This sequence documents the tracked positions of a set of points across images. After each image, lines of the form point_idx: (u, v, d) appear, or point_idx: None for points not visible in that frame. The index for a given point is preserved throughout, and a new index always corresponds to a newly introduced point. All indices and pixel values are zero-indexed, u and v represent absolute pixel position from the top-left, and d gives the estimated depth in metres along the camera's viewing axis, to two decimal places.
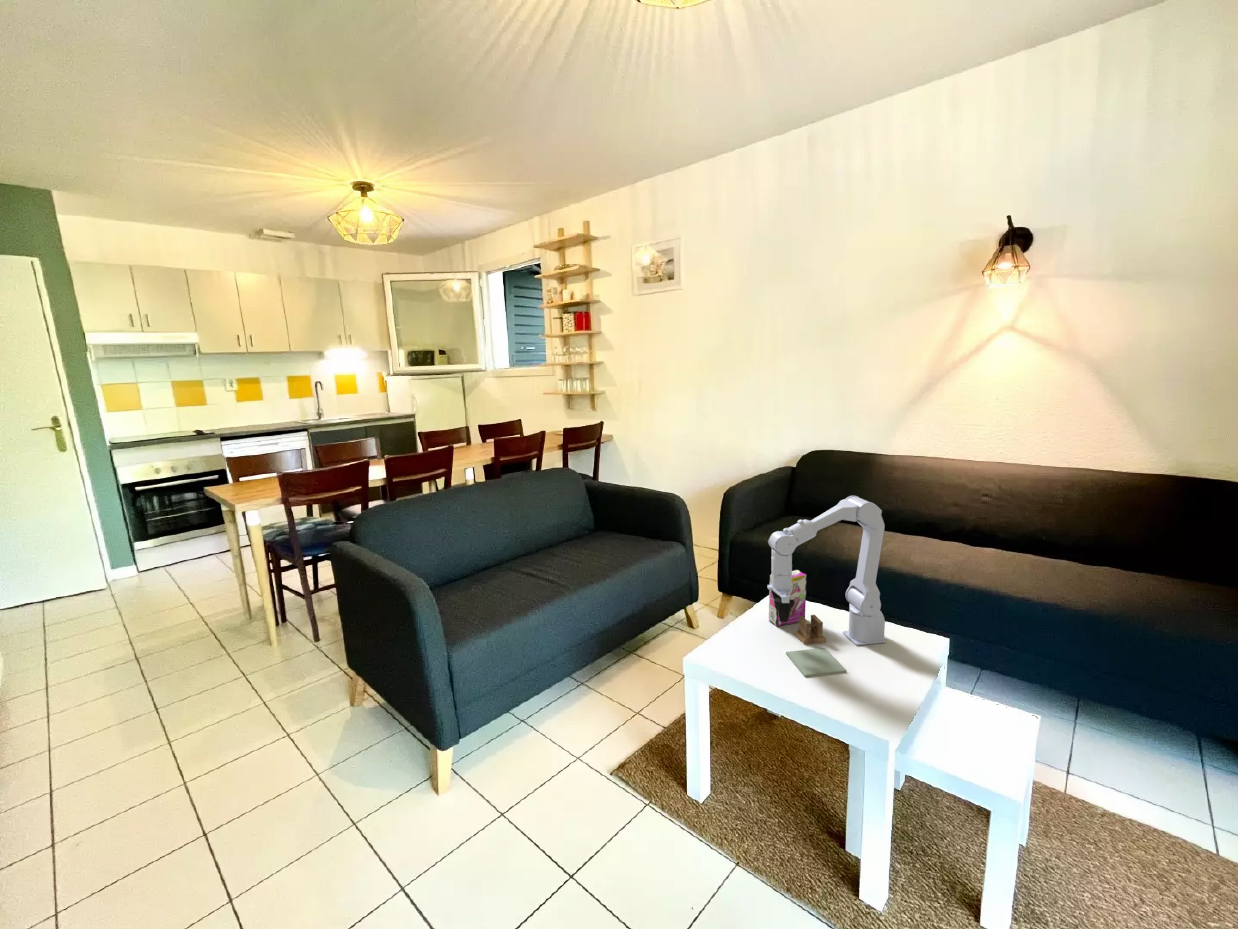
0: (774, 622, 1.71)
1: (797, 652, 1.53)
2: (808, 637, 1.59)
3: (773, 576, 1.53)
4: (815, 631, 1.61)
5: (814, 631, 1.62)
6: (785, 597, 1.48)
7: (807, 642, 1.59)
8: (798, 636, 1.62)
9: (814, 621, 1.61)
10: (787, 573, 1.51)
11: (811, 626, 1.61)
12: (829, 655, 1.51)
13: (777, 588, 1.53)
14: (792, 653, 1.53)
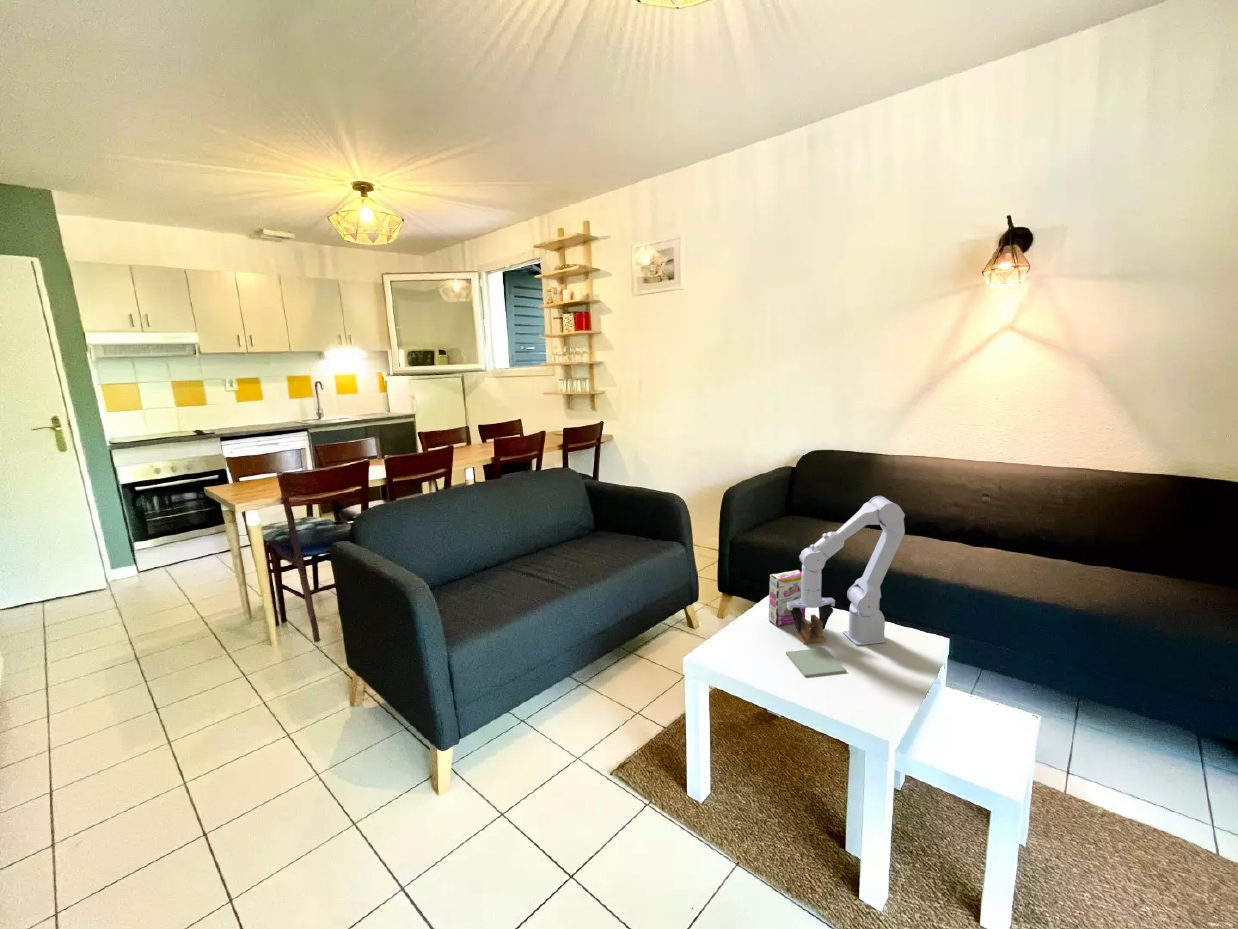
0: (774, 622, 1.71)
1: (797, 652, 1.53)
2: (808, 637, 1.59)
3: None
4: (815, 631, 1.61)
5: (814, 631, 1.62)
6: (788, 603, 1.59)
7: (807, 642, 1.59)
8: (798, 636, 1.62)
9: (814, 621, 1.61)
10: (815, 589, 1.56)
11: (811, 626, 1.61)
12: (829, 655, 1.51)
13: (801, 598, 1.61)
14: (792, 653, 1.53)
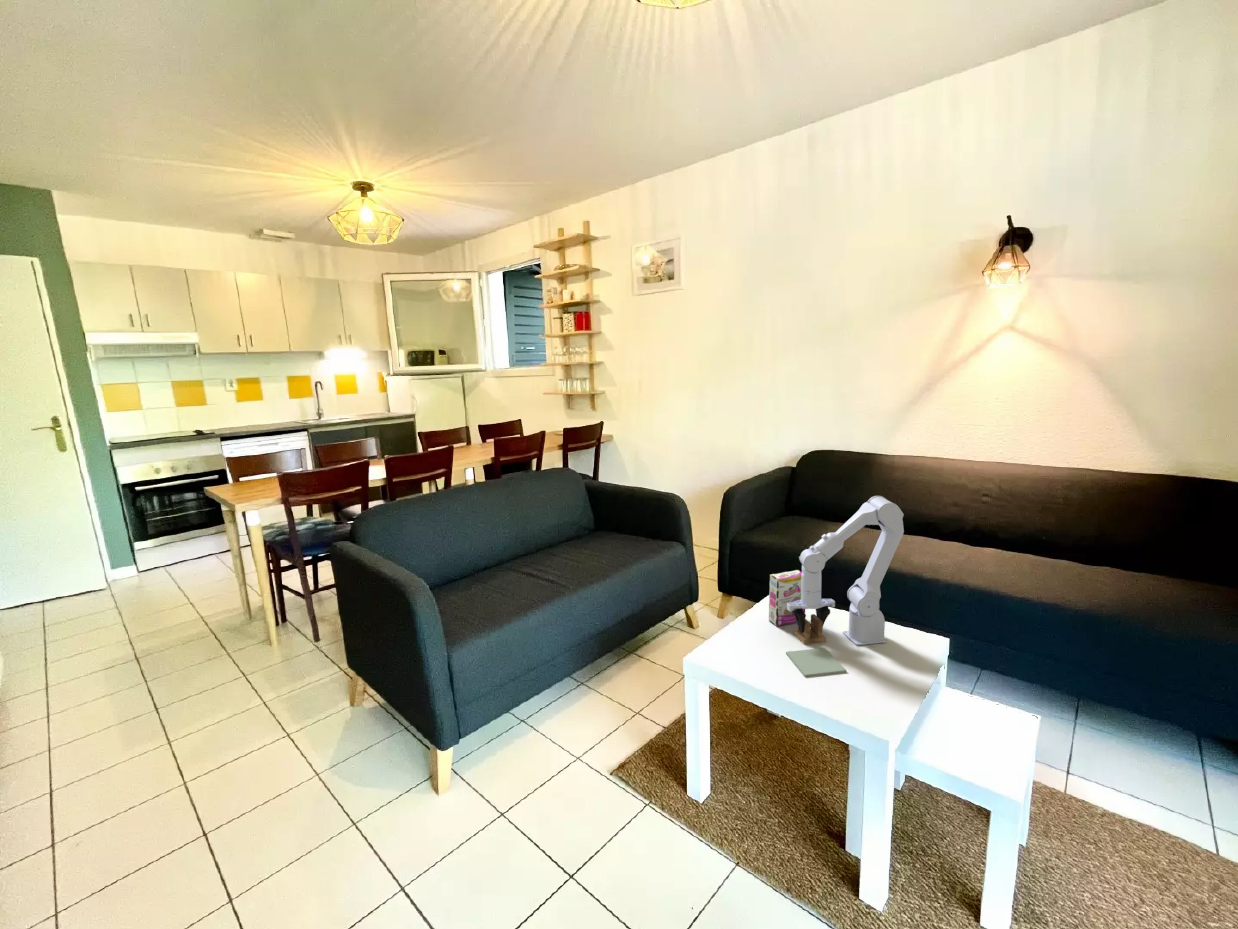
0: (774, 622, 1.71)
1: (797, 652, 1.53)
2: (808, 637, 1.59)
3: None
4: (815, 631, 1.61)
5: (814, 631, 1.62)
6: (788, 605, 1.59)
7: (807, 642, 1.59)
8: (798, 636, 1.62)
9: (814, 620, 1.61)
10: (815, 590, 1.56)
11: (811, 626, 1.61)
12: (829, 655, 1.51)
13: (801, 599, 1.61)
14: (792, 653, 1.53)
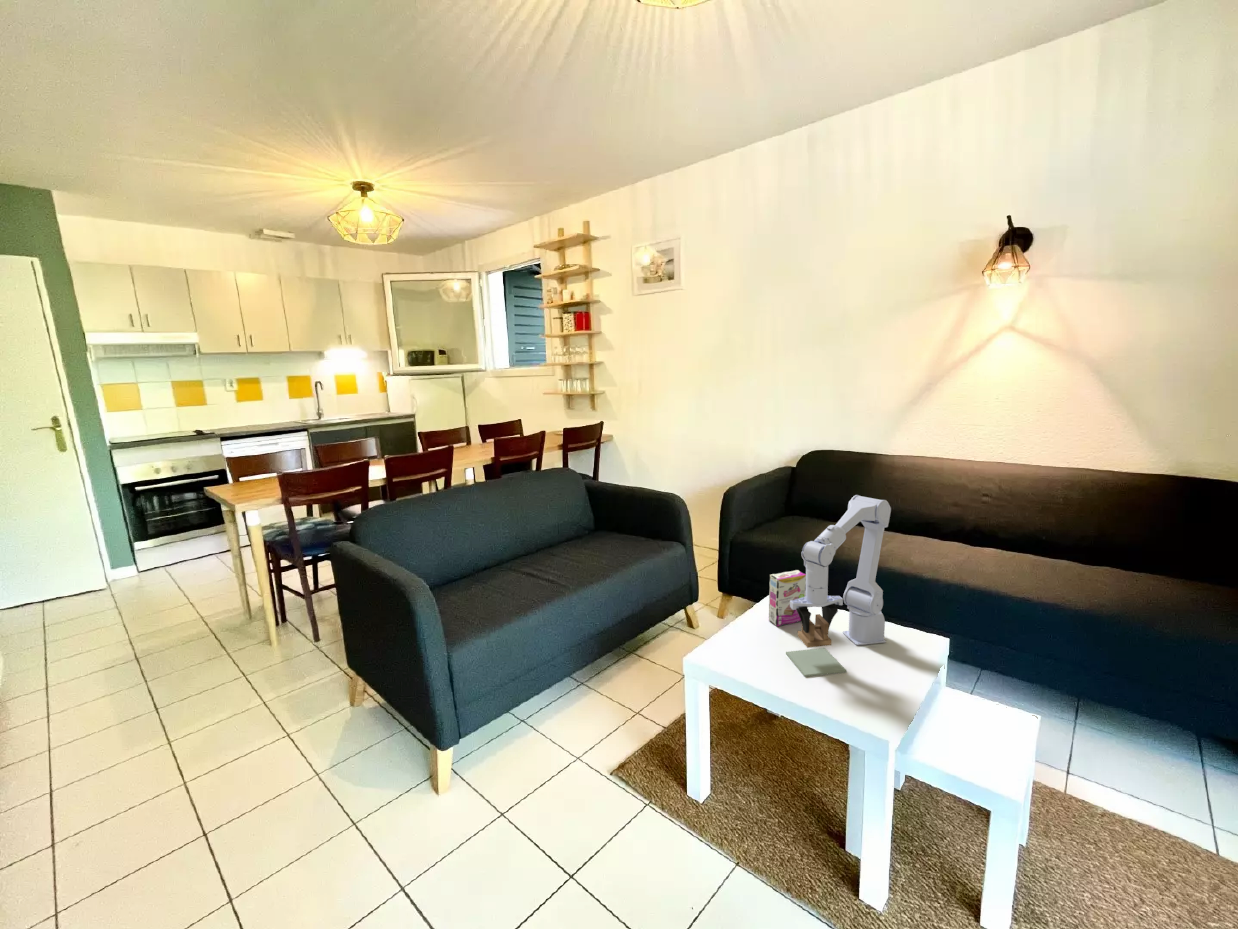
0: (774, 622, 1.71)
1: (797, 652, 1.53)
2: (812, 639, 1.45)
3: None
4: (819, 633, 1.47)
5: (819, 632, 1.48)
6: (791, 602, 1.45)
7: (811, 645, 1.45)
8: (801, 637, 1.48)
9: (819, 621, 1.47)
10: (826, 584, 1.42)
11: (816, 627, 1.47)
12: (829, 655, 1.51)
13: (805, 596, 1.46)
14: (792, 653, 1.53)
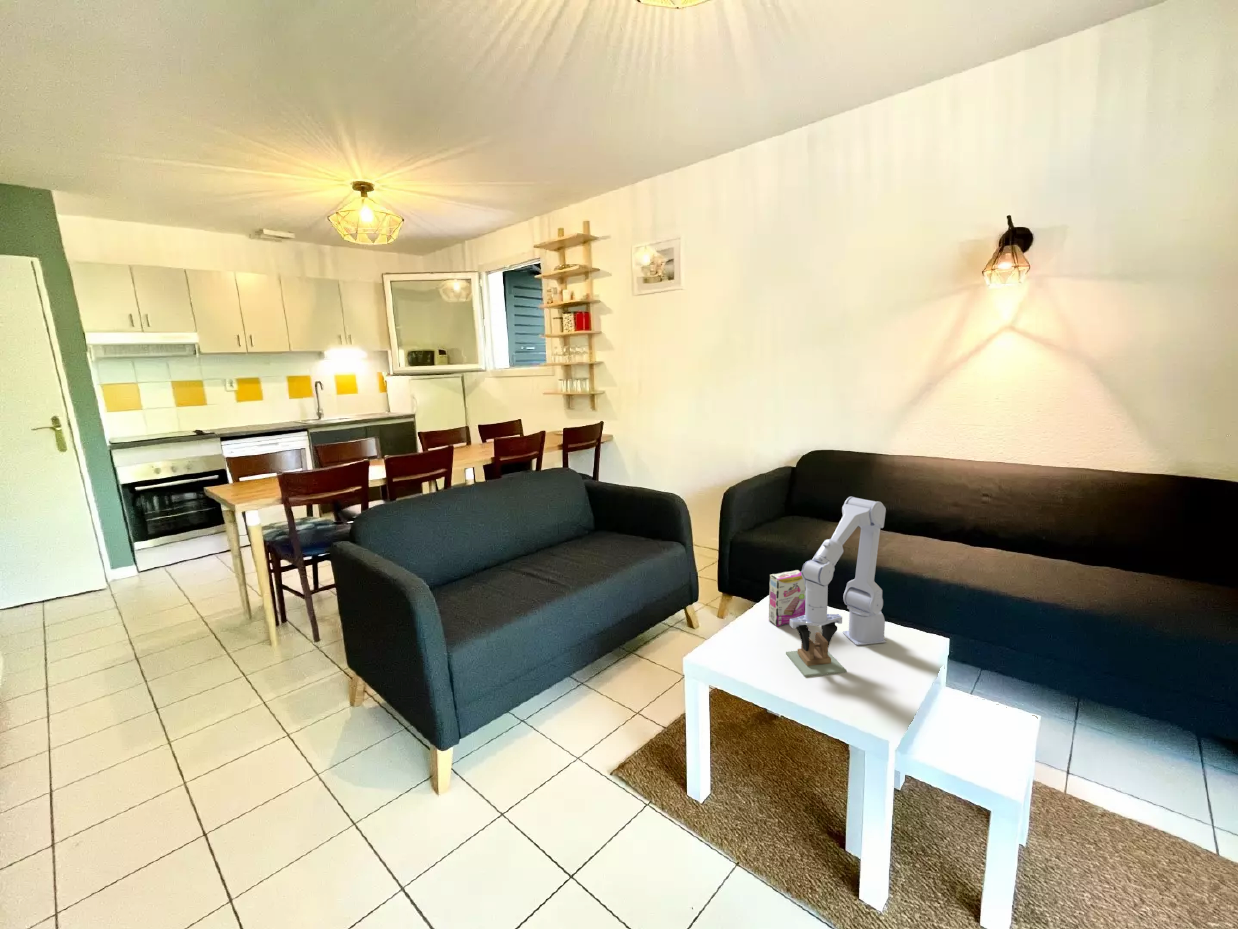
0: (774, 622, 1.71)
1: None
2: (812, 658, 1.46)
3: None
4: (819, 651, 1.48)
5: (818, 650, 1.49)
6: (791, 621, 1.46)
7: (811, 663, 1.46)
8: (801, 655, 1.49)
9: (819, 639, 1.48)
10: (826, 603, 1.43)
11: (815, 645, 1.48)
12: (829, 655, 1.51)
13: (805, 615, 1.47)
14: (792, 653, 1.53)
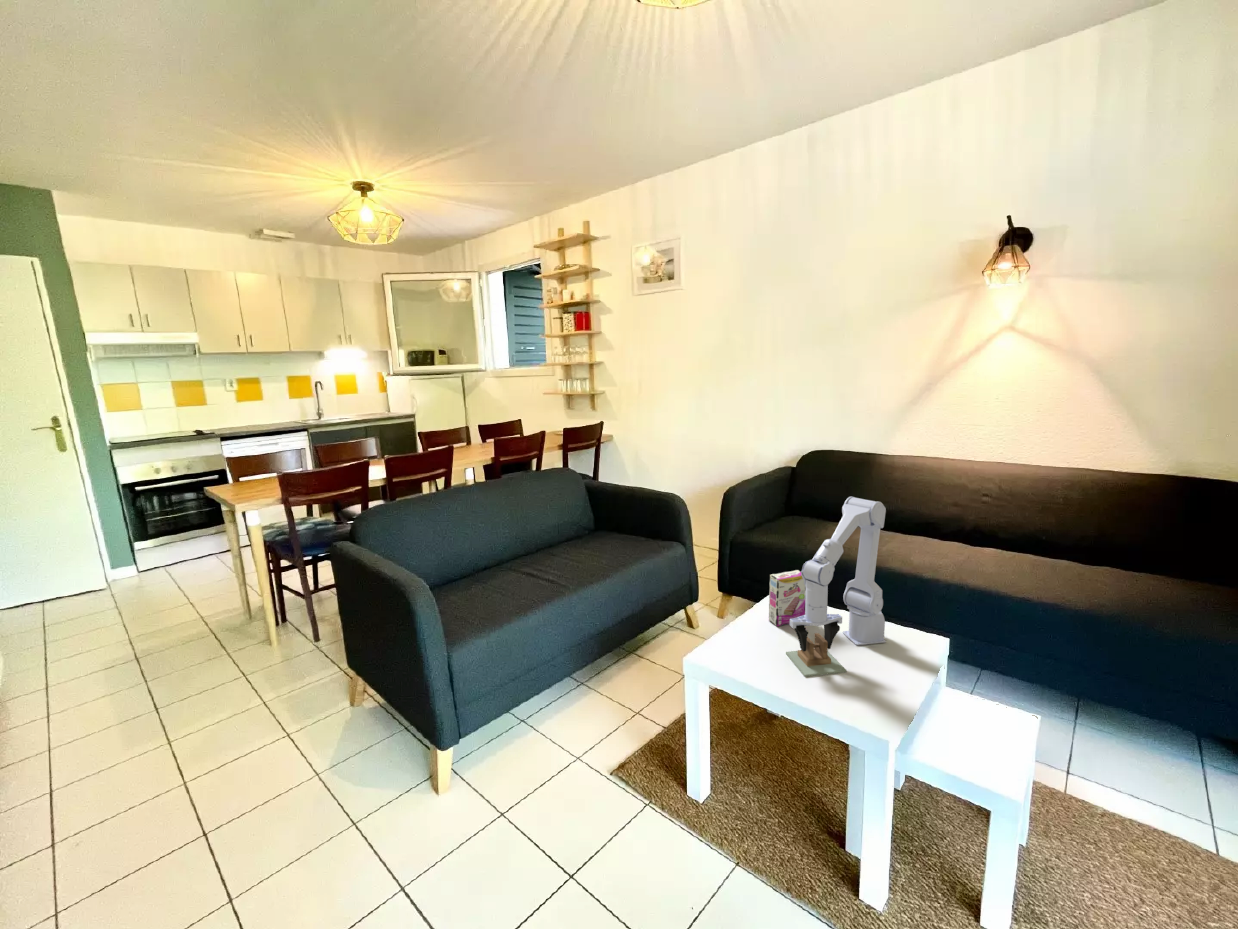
0: (774, 622, 1.71)
1: (797, 652, 1.53)
2: (812, 658, 1.46)
3: None
4: (819, 651, 1.49)
5: (818, 651, 1.49)
6: (791, 621, 1.46)
7: (811, 663, 1.46)
8: (801, 656, 1.49)
9: (818, 640, 1.48)
10: (826, 603, 1.43)
11: (815, 646, 1.48)
12: (829, 655, 1.51)
13: (805, 615, 1.47)
14: (792, 653, 1.53)
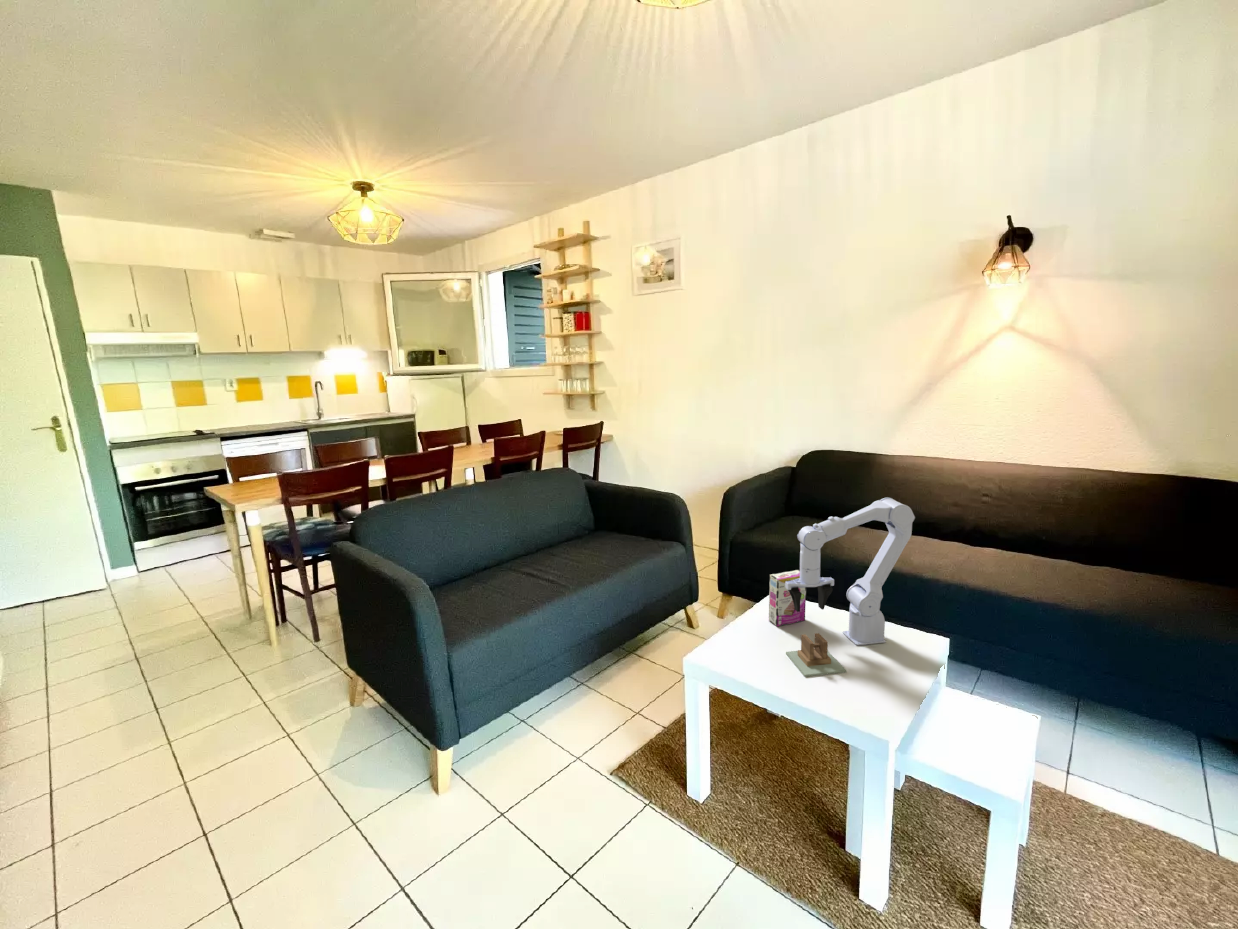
0: (774, 622, 1.71)
1: (797, 652, 1.53)
2: (812, 658, 1.46)
3: None
4: (819, 651, 1.49)
5: (818, 651, 1.49)
6: (786, 583, 1.57)
7: (811, 663, 1.46)
8: (801, 656, 1.49)
9: (818, 640, 1.48)
10: (815, 567, 1.54)
11: (815, 646, 1.48)
12: (829, 655, 1.51)
13: (799, 578, 1.59)
14: (792, 653, 1.53)
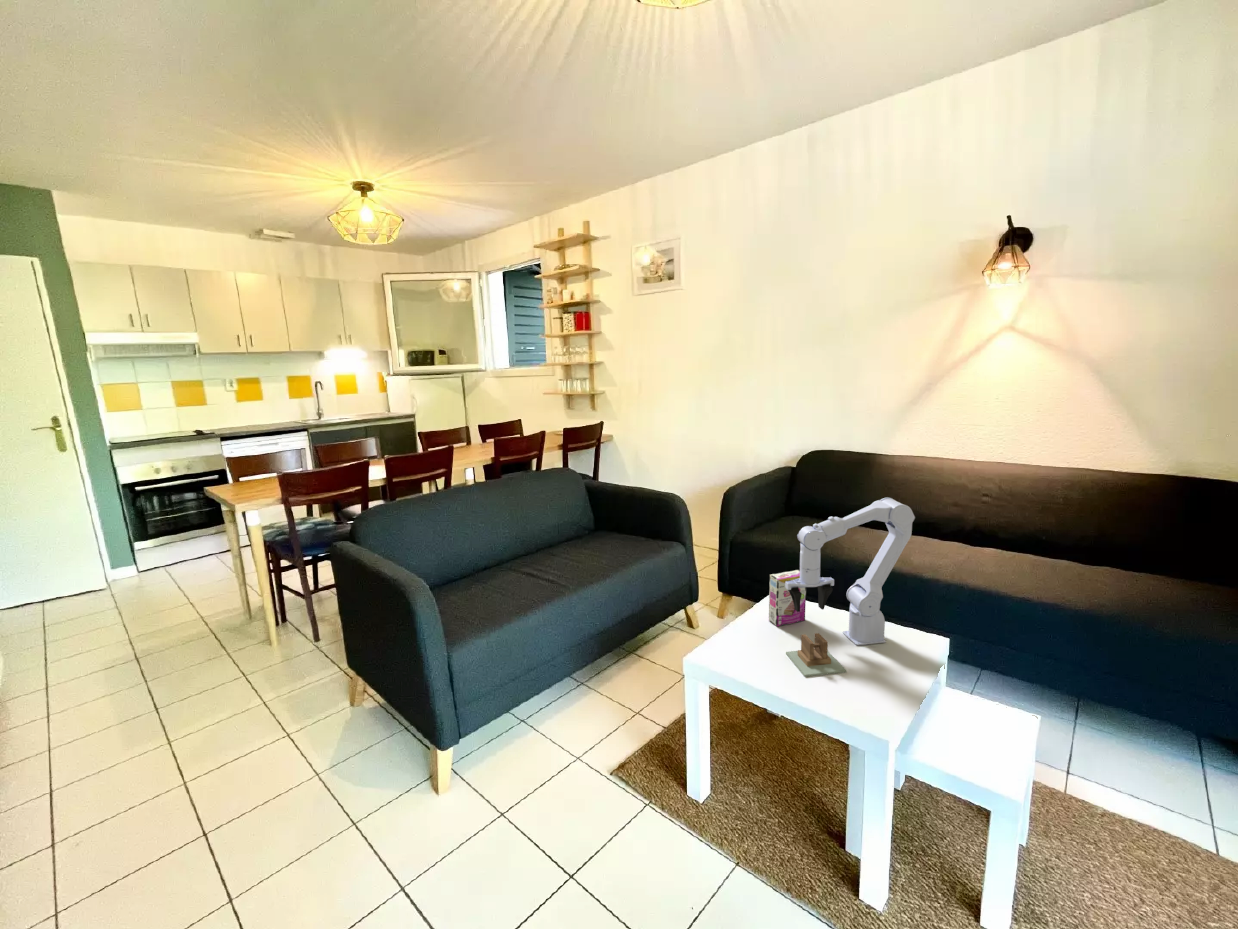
0: (774, 622, 1.71)
1: (797, 652, 1.53)
2: (812, 658, 1.46)
3: None
4: (819, 651, 1.49)
5: (818, 651, 1.49)
6: (786, 583, 1.57)
7: (811, 663, 1.46)
8: (801, 656, 1.49)
9: (818, 640, 1.48)
10: (815, 567, 1.54)
11: (815, 646, 1.48)
12: (829, 655, 1.51)
13: (799, 578, 1.59)
14: (792, 653, 1.53)
